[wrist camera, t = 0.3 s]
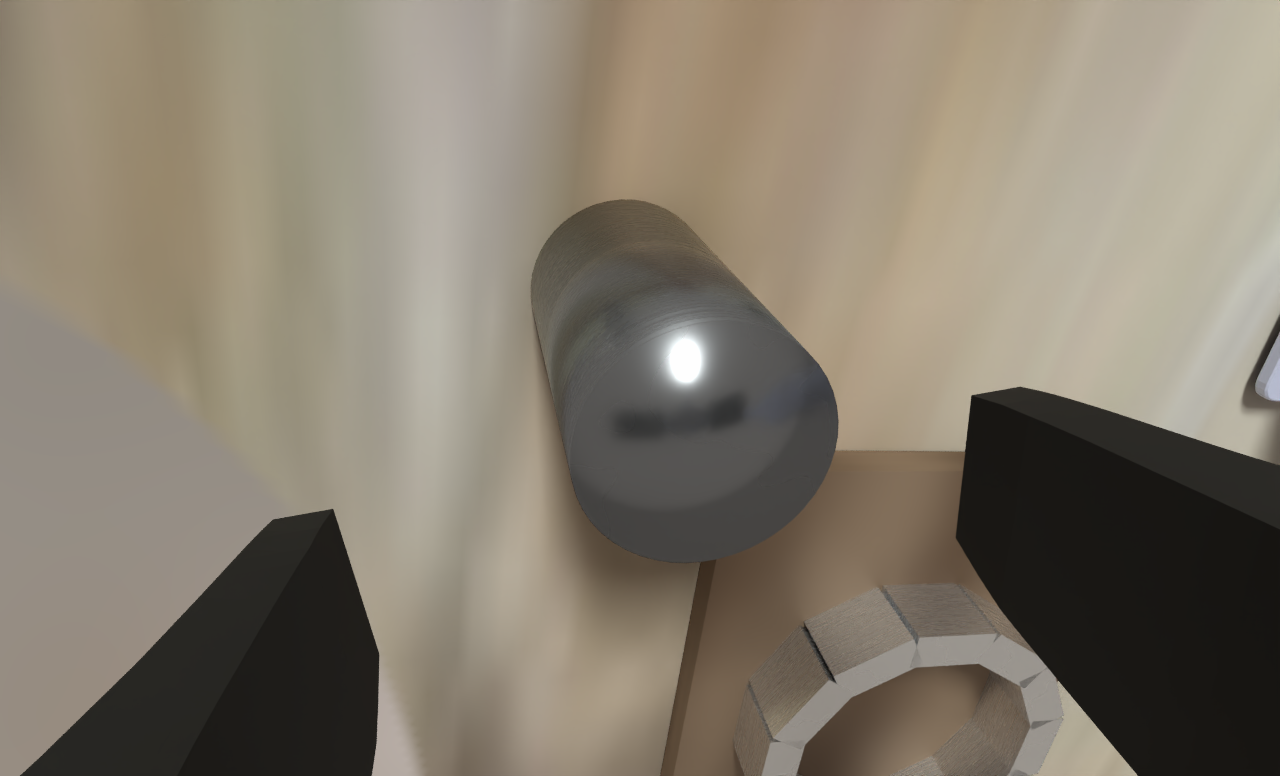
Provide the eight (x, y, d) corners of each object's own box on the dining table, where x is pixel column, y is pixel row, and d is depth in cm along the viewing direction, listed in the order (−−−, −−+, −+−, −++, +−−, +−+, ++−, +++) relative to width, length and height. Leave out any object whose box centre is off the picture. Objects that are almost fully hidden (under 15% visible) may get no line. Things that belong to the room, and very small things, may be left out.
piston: (723, 206, 18) (866, 327, 11) (695, 375, 19) (807, 559, 13) (537, 192, 17) (584, 314, 10) (524, 370, 18) (558, 566, 12)
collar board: (1125, 452, 23) (1212, 513, 20) (962, 832, 30) (1011, 915, 27) (722, 449, 20) (761, 519, 18) (642, 868, 27) (662, 964, 24)
